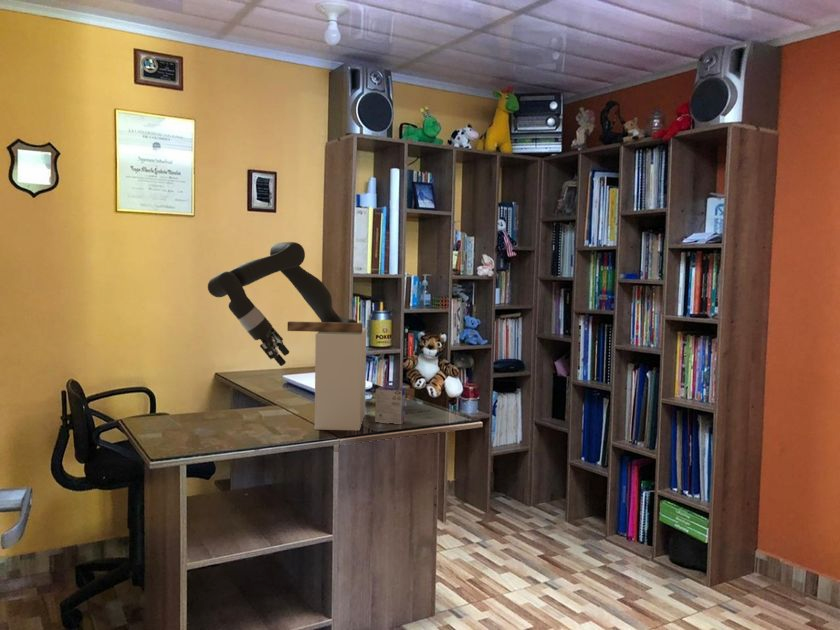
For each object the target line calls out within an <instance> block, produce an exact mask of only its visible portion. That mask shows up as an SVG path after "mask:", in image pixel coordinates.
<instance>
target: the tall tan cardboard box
mask: <svg viewBox="0 0 840 630" xmlns="http://www.w3.org/2000/svg"><path fill="white" fill-rule="evenodd" d="M314 349H315V350H314V353H315V356H314V359H315V361H314V362H315V364H314V368H315V369H314V380H315V381H314V430H320V431H321V430H322V431H323V430H324V431H325V430H327V431H360V429H361V427H362V425H361V424H363V422H362V421H364V419H365V416H364V415H366V384H367V383H366V377H367V376H366V375H367V374H366V373H367V327H363V328H362V333H353V332H316V334H315V348H314ZM363 418H364V419H363Z"/></svg>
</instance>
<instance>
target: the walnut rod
mask: <svg viewBox="0 0 840 630" xmlns="http://www.w3.org/2000/svg"><path fill="white" fill-rule="evenodd" d="M362 328H364V327H363V322H357V323H340V322H322V321H293V320H292V321H291V320H289V321H287V332H311V333H312V332H314V333H318V332H353V333H362Z"/></svg>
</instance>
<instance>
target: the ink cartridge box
mask: <svg viewBox="0 0 840 630" xmlns="http://www.w3.org/2000/svg"><path fill="white" fill-rule="evenodd" d="M393 384H394V385H393ZM397 385H398V381H396V380H387V381H386V385H385V386H379V387H376V389H375V400H374V401H375V408H374V409H375V410H374V423H375V422H381V423H380V424H389V423H394V424H393V425H402V424H404V423H405V422H406V387H397ZM404 421H405V422H404ZM403 422H404V423H403Z"/></svg>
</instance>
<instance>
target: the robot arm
mask: <svg viewBox="0 0 840 630" xmlns="http://www.w3.org/2000/svg"><path fill="white" fill-rule="evenodd" d="M305 257H306V252H305V249H304V247H303V245H301V244H300V243H298V242H294V241H286V242H278V243H274V244H273V245H272V246H271V247H270V251H269V255H268V256H267V255H266V256H264V257H260V258H257V259H253V260H250V261H246V262H245V263H242V264H240V265H238V266H236V267H235V268H232V269H231V270H229V271H227V270H225V271H222V272H221V273H219V274H216V275H215V276H214V277H212V278H211V279H210V280H209V281H208V283H207V290H208V292H209V294H210V295H211V296H212V297H214V298H215V297H216V298H222V297H223V298H224V297H226V296H228V298H229V300H230V301H229V303H228V309H229V310H230V312H231V313H232V314H233V315H234V316H235V317H236V319H237V320H238V321H239V322H240V325H241V326H242V327H243V328H244V330H246V333H248V335H250V337H252V339H253V340H254V341H259V340H260V342H261V344H259V347H260V348H261V349H262V351H263V352H264V353H265V354H266V355H267V357H268V359H270V360H272V359H274V361H276V363H277V364H278V365H279V366H280V367H282V366H284V365H285V364H286V363H287V362H286V360H285V359H284V358H283V357H282V355H283V356H284V357H285V356H287V355H289V354H290V350H289V349H288V348H287V347H286V345H285V344H284V339H283V337H282V336H281V335H280V334H279V333H278V331H277V330H276V329H275V328H274V327H273V325H272V324H271V322H270V321H269V320H268V319H267V318H266V316H265V315H264V314H263V313H262V311H261V310H260V309H259V308H257V306H255V304H254V303H253V302H252V300H251V299H250V298H249V297H248V296H247V294H246V290H245V289H244V287H246V286H248V285H250V284H253V283H255V282H257V281H259V280H261V279H263V278H265V277H268V276H271V275H273V274H275V273H278V272H281V273H282V275H283V276H285V277H286V278H287V279H288V281H290V283H291V284H292V285H293V287H294V288H295V289H296V290H297V292H298V293H299V294H300V296H301V297H302V298H303V300H304V301H305V302H306V303H307V305H308V306H309V307H310V308H311V310H313V312H314V313H315V315H316V316H317V317H318V318H319V320H320V322H340V323H358V322H357V321H356V320H355V319H352V318H343V317H340V316H339V315H338V313H336V311H335V310H334V308H333V303H332V302H333V300H332V294H331V293H330V290H329V289H328V287H326V285H325V284H324V283H323V282H322V281H321V280H320V278H318V277H316V276H315V275H313V274H311V273H310V272H308V270H306V269H304V268H303V267H302V266H301V265H302V264H303V263H304V260H305ZM278 350H279V351H280V353H281V354H282V355H281V354H280V353H279V351H278Z"/></svg>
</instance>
